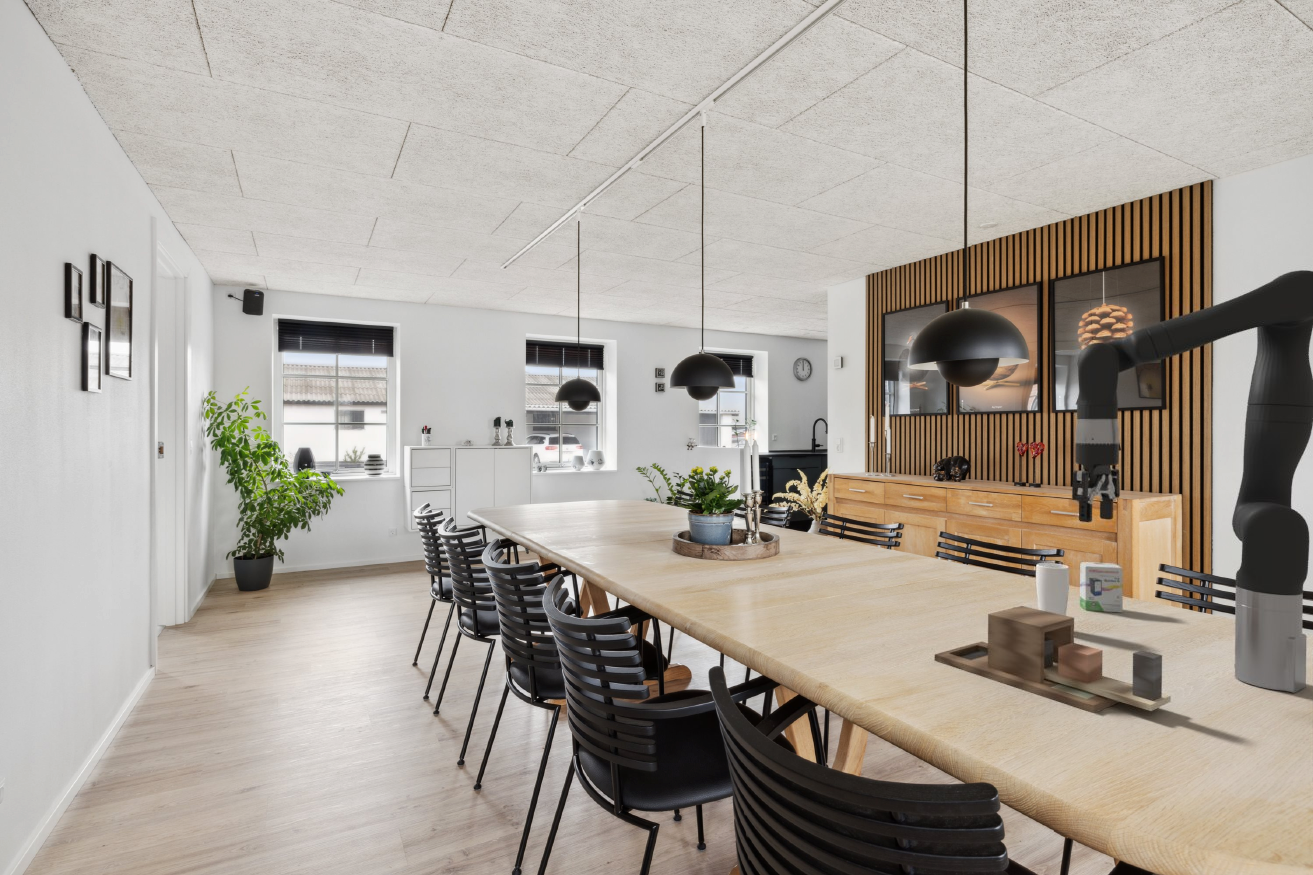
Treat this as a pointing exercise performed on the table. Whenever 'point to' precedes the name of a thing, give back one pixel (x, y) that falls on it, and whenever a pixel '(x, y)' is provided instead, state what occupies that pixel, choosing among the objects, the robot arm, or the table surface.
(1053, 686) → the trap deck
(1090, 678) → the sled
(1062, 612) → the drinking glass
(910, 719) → the table surface
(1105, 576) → the ink box
